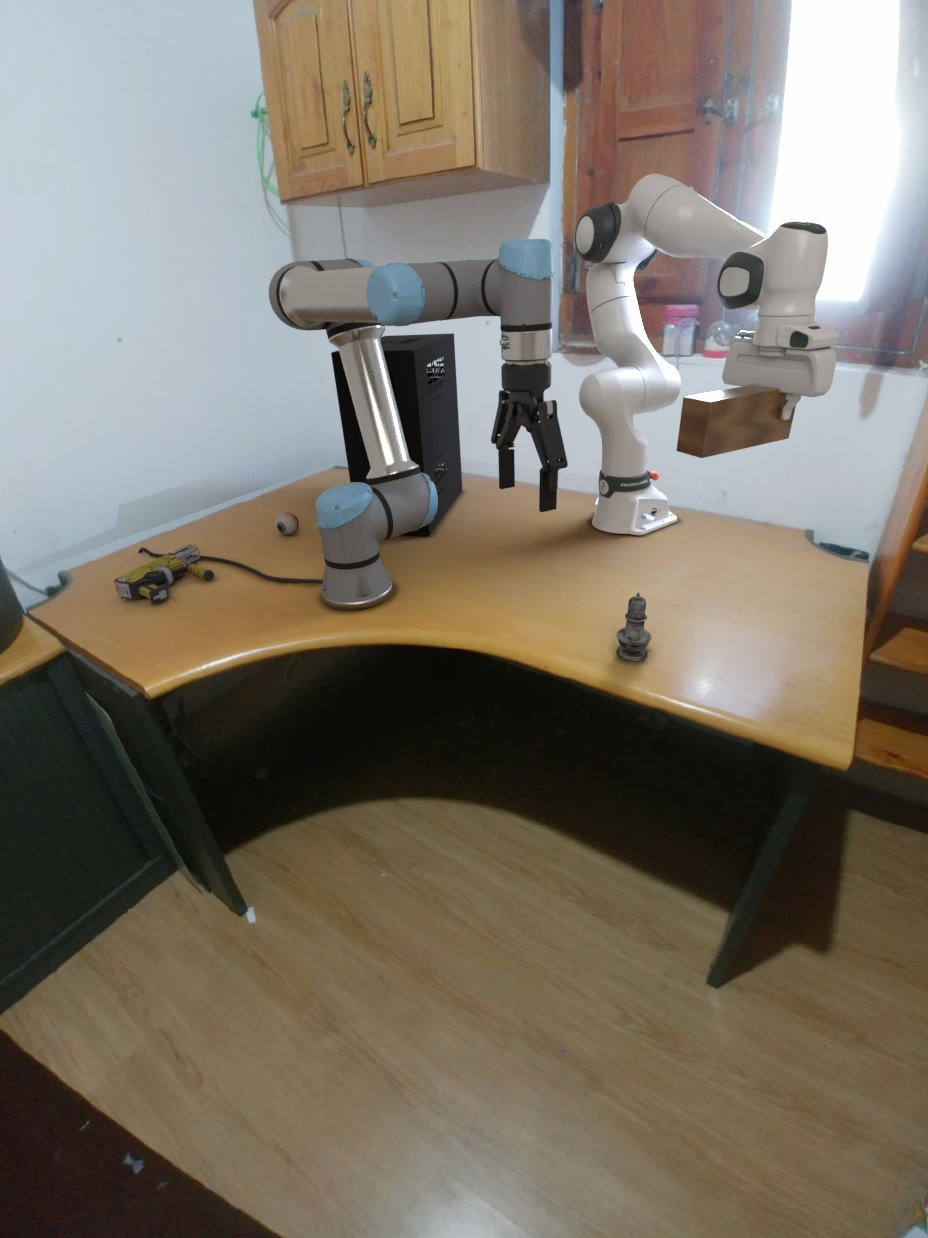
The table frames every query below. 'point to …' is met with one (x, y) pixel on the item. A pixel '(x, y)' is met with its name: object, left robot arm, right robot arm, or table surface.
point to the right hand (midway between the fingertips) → (765, 415)
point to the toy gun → (160, 575)
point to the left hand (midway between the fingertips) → (526, 498)
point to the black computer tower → (414, 413)
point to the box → (731, 420)
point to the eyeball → (287, 523)
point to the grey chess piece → (634, 631)
